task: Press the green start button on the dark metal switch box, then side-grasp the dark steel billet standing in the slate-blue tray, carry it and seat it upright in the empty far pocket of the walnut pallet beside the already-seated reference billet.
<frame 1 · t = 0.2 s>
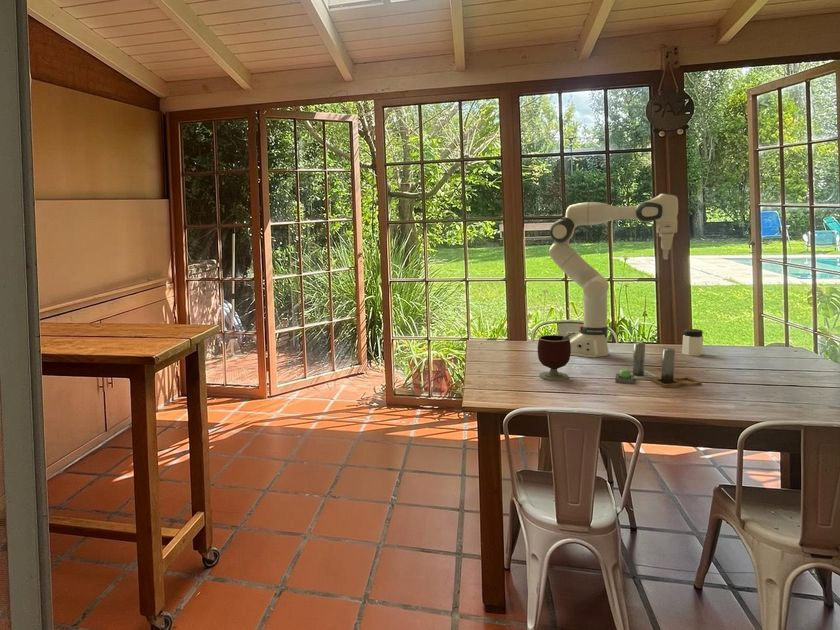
hand: (665, 258, 249), 48 cm above the table, tool pointing down, fingers open, 8 cm apart
square tray: (638, 377, 226), on the table
pallet: (675, 385, 212), on the table
jar: (692, 354, 263), on the table
reference billet: (667, 383, 212), point 1 cm above the table, touching pallet
switch box: (624, 383, 218), on the table
mate gourd: (555, 377, 230), on the table
billet: (638, 375, 226), point 1 cm above the table, touching square tray
start button: (624, 375, 217), point 4 cm above the table, slide at 0.0 cm
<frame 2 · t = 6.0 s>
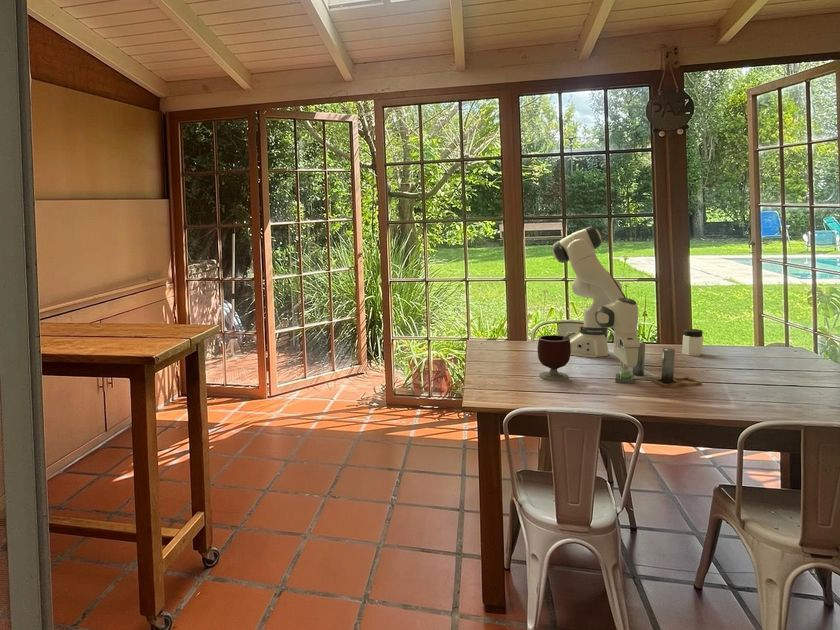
hand: (624, 372, 217), 5 cm above the table, tool pointing down, fingers closed, pressing on start button
start button: (624, 376, 217), point 3 cm above the table, slide at 0.6 cm, touching gripper
everything else where it was.
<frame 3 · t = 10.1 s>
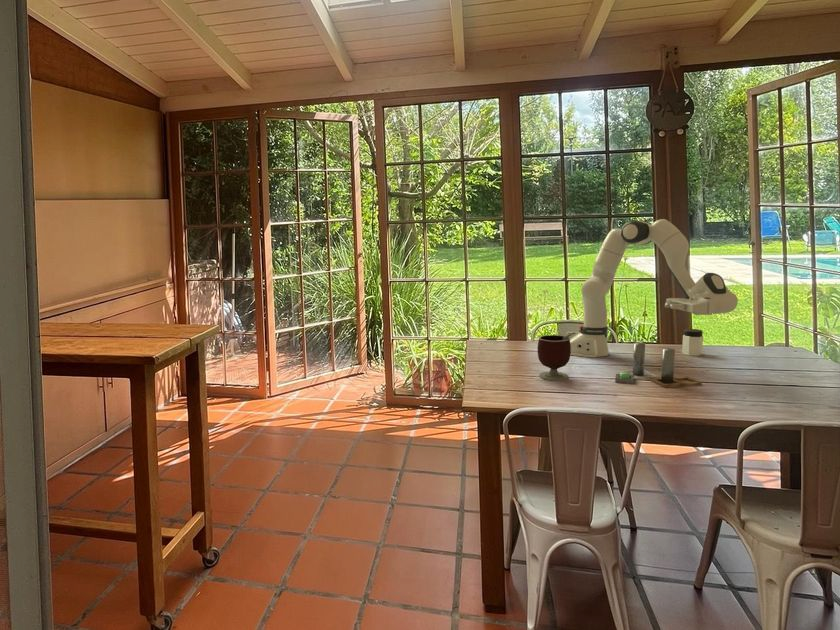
hand: (668, 306, 223), 30 cm above the table, tool horizontal, fingers closed
start button: (624, 377, 217), point 2 cm above the table, slide at 1.2 cm
everything else where it was.
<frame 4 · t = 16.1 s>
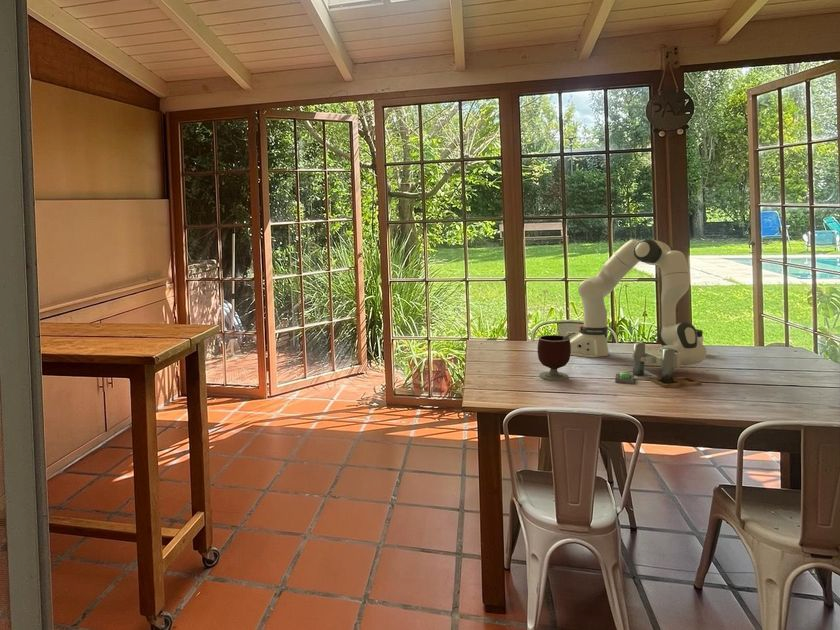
hand: (637, 357, 225), 9 cm above the table, tool horizontal, fingers closed on billet, 4 cm apart
billet: (638, 375, 226), point 1 cm above the table, touching gripper, square tray
everything else where it was.
when the fingers open (11 cm above the table, at t = 23.0 s): billet drops 1 cm, resting on pallet.
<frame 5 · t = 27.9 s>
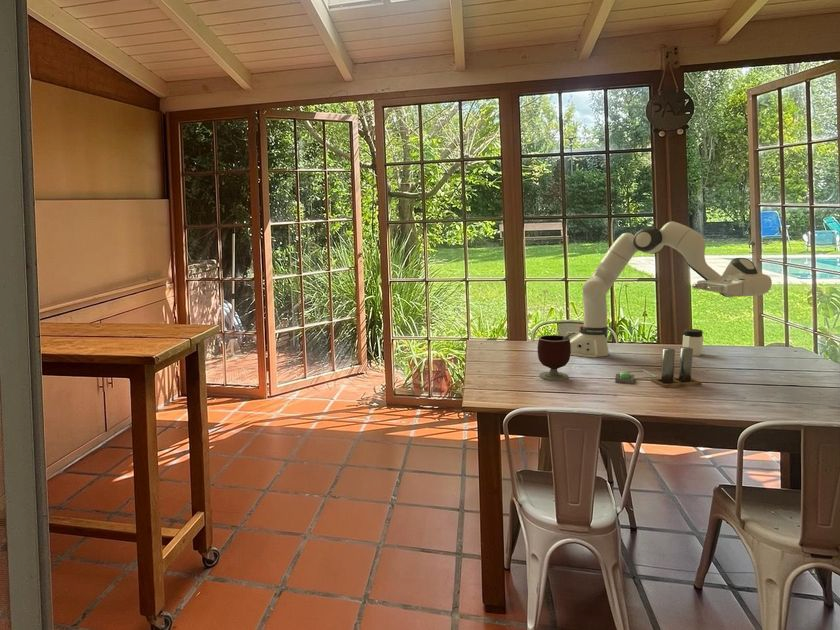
hand: (700, 287, 217), 38 cm above the table, tool horizontal, fingers open, 8 cm apart
billet: (684, 382, 213), point 1 cm above the table, touching pallet
everything else where it was.
at the end: billet 0.0 cm from the target spot, point 1.2 cm above the table; billet tilted 1°; start button slide at 1.2 cm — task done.
